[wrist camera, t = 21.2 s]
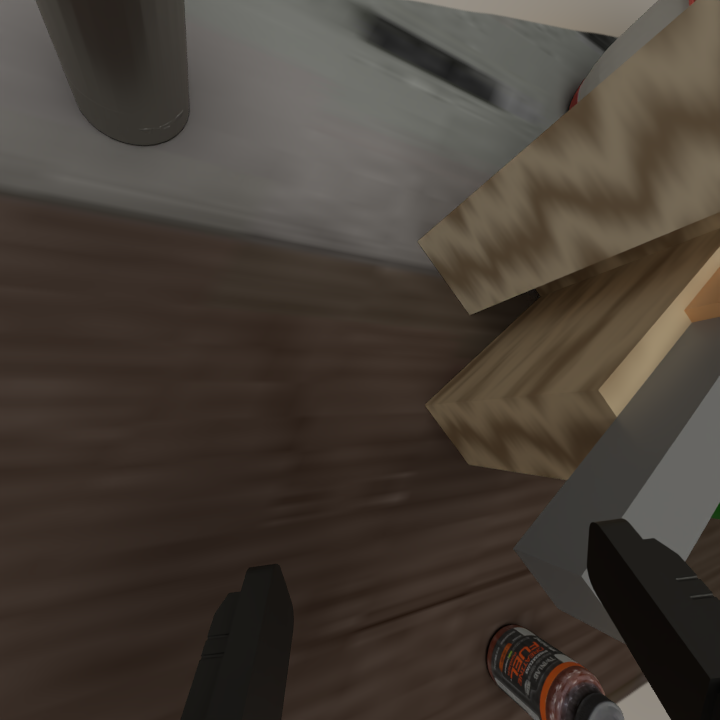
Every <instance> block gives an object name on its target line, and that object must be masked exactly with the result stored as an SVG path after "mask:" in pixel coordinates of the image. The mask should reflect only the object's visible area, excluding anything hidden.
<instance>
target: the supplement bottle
mask: <svg viewBox="0 0 720 720" xmlns="http://www.w3.org/2000/svg"><path fill="white" fill-rule="evenodd" d="M487 665H488V670H489V673H490V675H491V677H492V679H493V681H494V682H495V683H496V684H497V685H498V686H499V687H500V688H501V689H502V690H503V691H504V692H505V693H506V694H507V695H508V696H510V697H511V698H512V699H513V700H514V701H515V702H516V703H517V704H518V705H519V706H520V707H521V708H523V709H524V710H525V711H526V712H527V713H528V714H529V715H530V716H531V717H532V718H533V719H534V720H624V717H623V713H622V711H621V710H620V708H619V707H618V706H617V705H616V704H615V703H614V702H612V701H611V700H609V699H608V698H607V697H606V696H605V694H604V691H603V689H602V687H601V684H600V683H599V681H598V680H597V678H596V677H595V676H594V675H593V674H592V673H591V672H590V671H589V670H587V669H586V668H584V667H583V666H581V665H580V664H578V663H577V662H575V661H574V660H573V659H571V658H570V657H568V656H566V655H565V654H563V653H562V652H560V651H559V650H558V649H556V648H554V647H553V646H551V645H550V644H548V643H547V642H545V641H544V640H542V639H541V638H539V637H538V636H536V635H535V634H533V633H532V632H531V631H529V630H527V629H525V628H523V627H521V626H519V625H507V626H505V627H503V628H502V629H500V630H499V631H498V632H497V633H496V634H495V635H494V637H493V639H492V640H491V642H490V645H489V649H488V654H487Z"/></svg>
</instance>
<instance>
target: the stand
mask: <svg viewBox="0 0 720 720" xmlns="http://www.w3.org/2000/svg"><path fill="white" fill-rule="evenodd" d="M417 242H418V243H419V244H420V246H421V247H422V249H423V250H424V251H425V253H426V254H427V256H428V257H429V259H430V260H431V261H432V263H433V264H434V266H435V267H436V268H437V270H438V271H439V273H440V274H441V275H442V277H443V278H444V280H445V281H446V283H447V284H448V285H449V287H450V288H451V290H452V291H453V292H454V294H455V295H456V297H457V298H458V299H459V301H460V302H461V304H462V305H463V307H464V308H465V309H466V311H467V312H468V314H469V315H471V314H474V313H476V312H479V311H481V310H483V309H486V308H488V307H491V306H493V305H496V304H498V303H500V302H503V301H505V300H508V299H510V298H512V297H515V296H517V295H520V294H522V293H525V292H527V291H529V290H532V289H534V288H535V289H536V291H537V292H538V294H539V295H540V297H539V298H538V299H537V300H536V301H535V302H534V303H533V304H532V305H531V306H530V307H529V308H528V309H527V310H526V311H524V312H523V313H522V314H521V315H520V316H519V317H518V318H517V319H516V320H515V321H514V322H513V323H512V324H511V325H509V326H508V327H507V328H506V329H505V330H504V331H503V332H502V333H501V334H500V335H499V336H498V337H497V338H496V339H495V340H493V341H492V342H491V343H490V344H489V345H488V346H487V347H486V348H485V349H484V350H483V351H482V352H481V353H480V354H478V355H477V356H476V357H475V358H474V359H473V360H472V361H471V362H470V363H469V364H468V365H467V366H466V367H465V368H464V369H462V370H461V371H460V372H459V373H458V374H457V375H456V376H455V377H454V378H453V379H452V380H451V381H450V382H449V383H448V384H446V385H445V386H444V387H443V388H442V389H441V390H440V391H439V392H438V393H437V394H436V395H435V396H434V397H433V398H431V399H430V400H429V401H428V402H427V403H426V404H425V406H426V408H427V409H428V410H429V412H430V413H431V414H432V416H433V417H434V418H435V420H436V421H437V422H438V424H439V425H440V426H441V428H442V429H443V431H444V432H445V433H446V435H447V436H448V437H449V439H450V440H451V441H452V443H453V444H454V445H455V447H456V448H457V449H458V451H459V452H460V453H461V455H462V456H463V458H464V459H465V460H466V462H467V463H468V464H469V465H474V466H480V467H486V468H493V469H499V470H506V471H512V472H518V473H525V474H531V475H538V476H544V477H551V478H557V479H563V480H568V479H569V477H570V476H571V475H572V474H573V472H574V471H575V470H576V468H577V467H578V466H579V465H580V463H581V462H582V461H583V460H584V458H585V457H586V456H587V455H588V453H589V452H590V451H591V450H592V448H593V447H594V446H595V444H596V443H597V442H598V441H599V439H600V438H601V437H602V436H603V434H604V433H605V432H606V431H607V429H608V428H609V427H610V425H611V424H612V423H613V422H614V420H615V419H616V418H617V417H618V415H619V414H620V413H621V412H622V410H623V409H624V408H625V406H626V405H627V404H628V403H629V401H630V400H631V399H632V398H633V396H634V395H635V394H636V393H637V391H638V390H639V389H640V388H641V386H642V385H643V384H644V382H645V381H646V380H647V379H648V377H649V376H650V375H651V374H652V372H653V371H654V370H655V369H656V367H657V366H658V365H659V363H660V362H661V361H662V360H663V358H664V357H665V356H666V355H667V353H668V352H669V351H670V350H671V348H672V347H673V346H674V344H675V343H676V342H677V341H678V339H679V338H680V337H681V336H682V334H683V333H684V332H685V331H686V329H687V328H688V327H689V325H690V324H691V323H692V322H691V320H690V319H689V317H688V316H687V314H686V313H685V311H684V310H685V309H686V307H687V306H688V305H689V304H690V302H691V301H692V300H693V299H694V298H695V296H696V295H697V294H698V293H699V291H700V290H701V289H702V288H703V287H704V285H705V284H706V283H707V282H708V280H709V279H710V278H711V277H712V276H713V274H714V273H715V272H716V271H717V269H718V268H719V267H720V0H696V1H695V2H694V3H693V4H691V5H690V6H689V7H688V8H687V9H686V10H685V11H683V12H682V13H681V14H680V15H679V16H678V17H676V18H675V19H674V20H673V21H672V22H671V23H669V24H668V25H667V26H666V27H665V28H664V29H663V30H661V31H660V32H659V33H658V34H657V35H656V36H654V37H653V38H652V39H651V40H650V41H649V42H648V43H646V44H645V45H644V46H643V47H642V48H641V49H639V50H638V51H637V52H636V53H635V54H634V55H632V56H631V57H630V58H629V59H628V60H627V61H626V62H624V63H623V64H622V65H621V66H620V67H619V68H617V69H616V70H615V71H614V72H613V73H612V74H611V75H609V76H608V77H607V78H606V79H605V80H604V81H602V82H601V83H600V84H599V85H598V86H597V87H595V88H594V89H593V90H592V91H591V92H590V93H589V94H587V95H586V96H585V97H584V98H583V99H582V100H580V101H579V102H578V103H577V104H576V105H575V106H574V107H572V108H571V109H570V110H569V111H568V112H567V113H565V114H564V115H563V116H562V117H561V118H560V119H558V120H557V121H556V122H555V123H554V124H553V125H552V126H550V127H549V128H548V129H547V130H546V131H545V132H543V133H542V134H541V135H540V136H539V137H538V138H537V139H535V140H534V141H533V142H532V143H531V144H530V145H528V146H527V147H526V148H525V149H524V150H523V151H521V152H520V153H519V154H518V155H517V156H516V157H515V158H513V159H512V160H511V161H510V162H509V163H508V164H506V165H505V166H504V167H503V168H502V169H501V170H500V171H498V172H497V173H496V174H495V175H494V176H493V177H491V178H490V179H489V180H488V181H487V182H486V183H484V184H483V185H482V186H481V187H480V188H479V189H478V190H476V191H475V192H474V193H473V194H472V195H471V196H469V197H468V198H467V199H466V200H465V201H464V202H463V203H461V204H460V205H459V206H458V207H457V208H456V209H454V210H453V211H452V212H451V213H450V214H449V215H447V216H446V217H445V218H444V219H443V220H442V221H441V222H439V223H438V224H437V225H436V226H435V227H434V228H432V229H431V230H430V231H429V232H428V233H427V234H426V235H424V236H423V237H422V238H421V239H420V240H419V241H417Z"/></svg>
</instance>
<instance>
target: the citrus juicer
mask: <svg viewBox="0 0 720 720" xmlns="http://www.w3.org/2000/svg"><path fill="white" fill-rule="evenodd" d="M695 1H696V0H658V1H657V2H656V3H655V4H654V5H653V6H652V7H651V8H650V9H648V10H647V12H645V13H644V14H643V15H642V16H641V17H640V18H639V19H638V20H637V21H636V22H635V23H634V24H632V25H631V26H630V27H629V28H628V29H627V30H626V31H625V32H624V33H623V34H622V35H621V36H620V37H619V38H618V39H617V40H616V41H615V42H614V43H613V44H612V45H611V46H610V47H609V48H608V49H607V50H606V51H605V53H604V54H603V55H602V56H601V58H600V59H599V60H598V61H597V62H596V64H595V65H594V66H593V68H592V69H591V71H590V72H589V74H588V75H587V77H586V78H585V79H584V80H583V81H582V83H581V84H580V86H579V88H578V90H577V91H576V93H575V95H574V97H573V99H572V101H571V104H570V107H569V110H570V109H571V108H572V107H574V106H575V105H576V104H577V103H578V102H579V101H580V100H582V99H583V98H584V97H585V96H586V95H587V94H589V93H590V92H591V91H592V90H593V89H594V88H595V87H597V86H598V85H599V84H600V83H601V82H602V81H604V80H605V79H606V78H607V77H608V76H609V75H611V74H612V73H613V72H614V71H615V70H616V69H617V68H619V67H620V66H621V65H622V64H623V63H624V62H626V61H627V60H628V59H629V58H630V57H631V56H632V55H634V54H635V53H636V52H637V51H638V50H639V49H641V48H642V47H643V46H644V45H645V44H646V43H648V42H649V41H650V40H651V39H652V38H653V37H654V36H656V35H657V34H658V33H659V32H660V31H661V30H663V29H664V28H665V27H666V26H667V25H668V24H669V23H671V22H672V21H673V20H674V19H675V18H676V17H678V16H679V15H680V14H681V13H682V12H683V11H685V10H686V9H687V8H688V7H689V6H690V5H691V4H693V3H694V2H695Z"/></svg>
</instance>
